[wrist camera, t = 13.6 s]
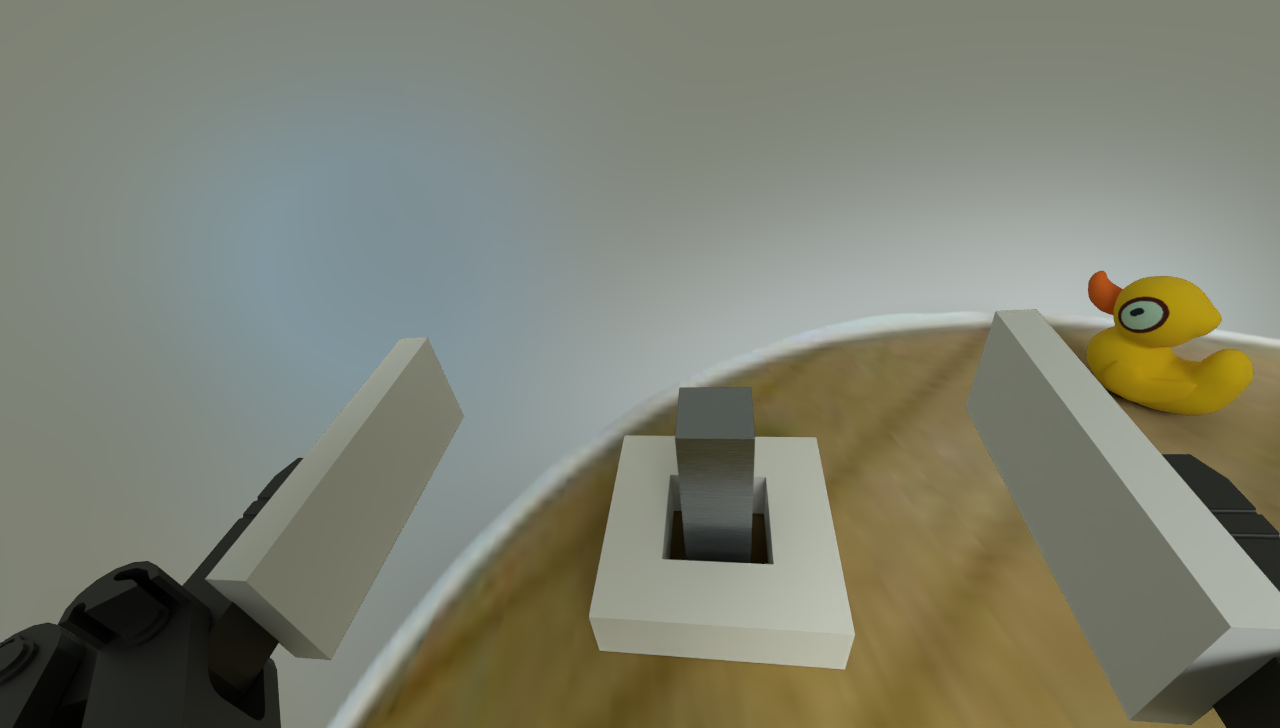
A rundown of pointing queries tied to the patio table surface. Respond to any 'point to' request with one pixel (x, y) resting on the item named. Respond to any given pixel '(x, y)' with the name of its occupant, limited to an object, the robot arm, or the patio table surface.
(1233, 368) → the duckling
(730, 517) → the tall dark grey pillar
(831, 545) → the well block
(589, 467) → the patio table surface
